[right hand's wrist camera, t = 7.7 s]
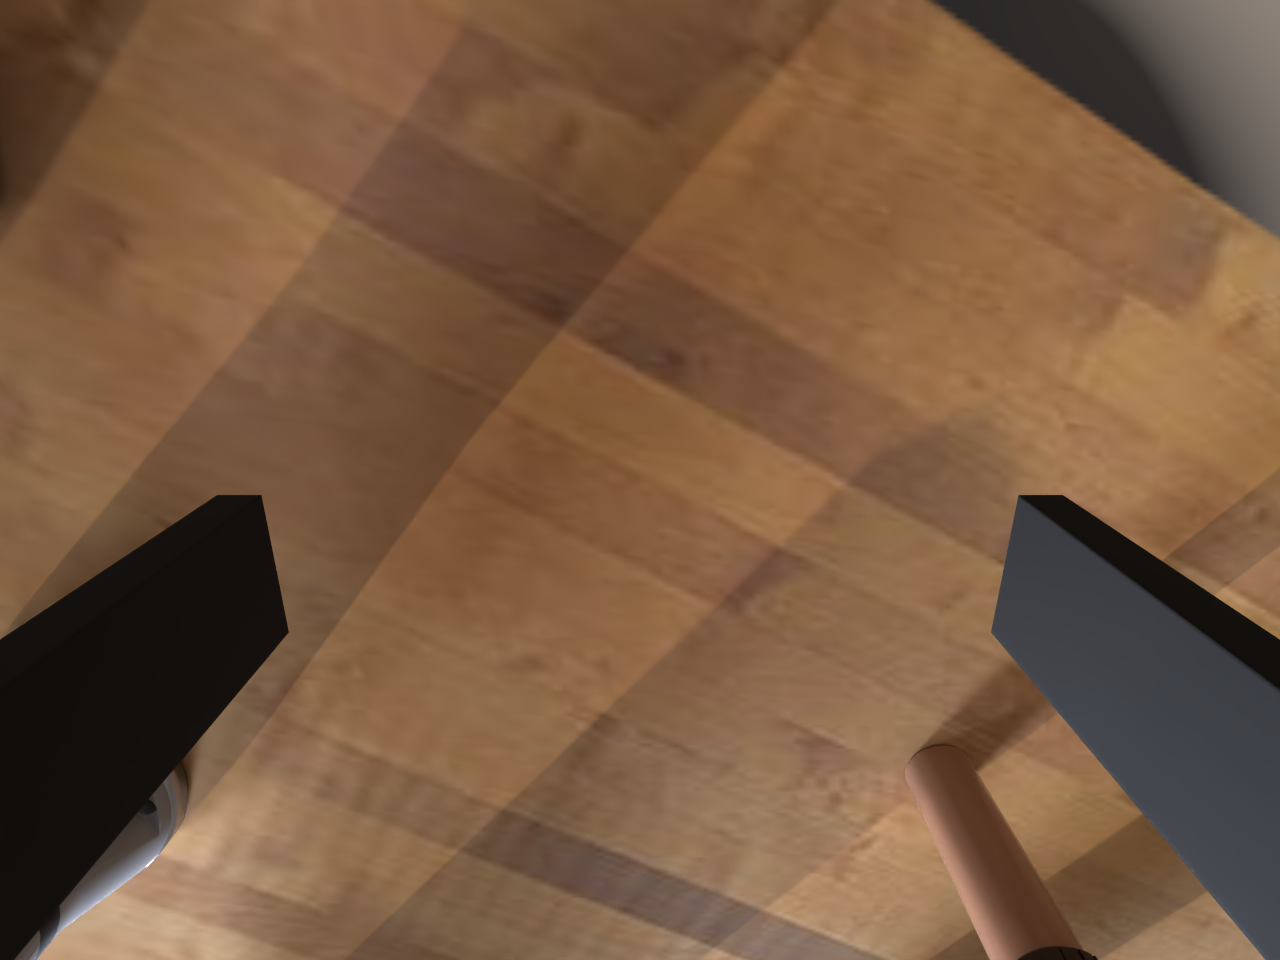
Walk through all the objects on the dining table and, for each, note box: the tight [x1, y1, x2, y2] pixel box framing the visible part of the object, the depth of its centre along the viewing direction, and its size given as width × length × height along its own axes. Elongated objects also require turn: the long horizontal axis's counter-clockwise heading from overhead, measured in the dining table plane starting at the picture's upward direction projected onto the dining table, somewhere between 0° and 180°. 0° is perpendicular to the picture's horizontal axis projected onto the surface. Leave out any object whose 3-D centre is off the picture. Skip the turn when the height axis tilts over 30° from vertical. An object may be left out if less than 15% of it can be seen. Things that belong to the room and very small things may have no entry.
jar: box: [905, 745, 1085, 960], centre depth 39 cm, size 4×4×15 cm
